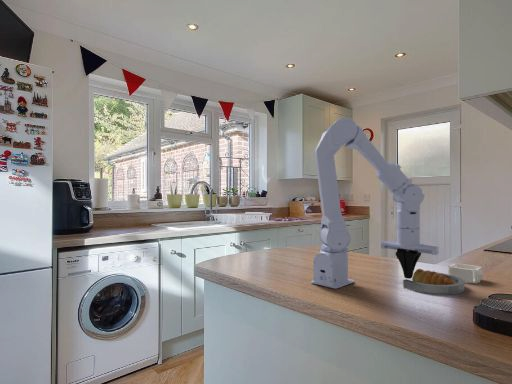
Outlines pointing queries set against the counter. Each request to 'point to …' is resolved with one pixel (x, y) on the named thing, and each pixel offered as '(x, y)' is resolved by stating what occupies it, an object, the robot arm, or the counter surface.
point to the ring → (437, 286)
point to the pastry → (430, 278)
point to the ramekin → (466, 272)
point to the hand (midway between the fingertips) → (408, 277)
